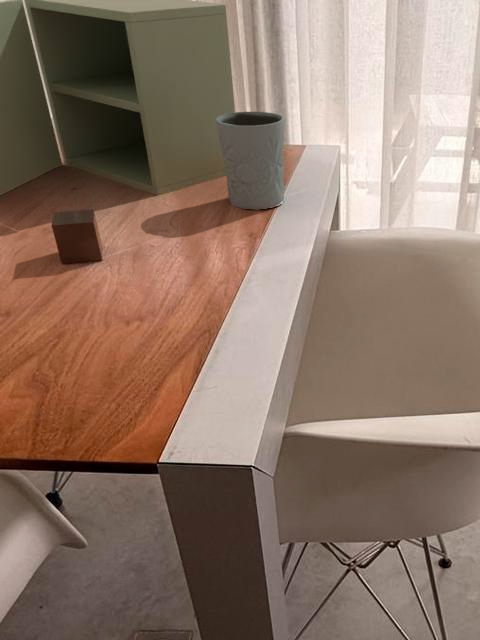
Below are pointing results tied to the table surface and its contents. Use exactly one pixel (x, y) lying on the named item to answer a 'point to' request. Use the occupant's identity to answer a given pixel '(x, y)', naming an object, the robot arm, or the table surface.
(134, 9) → the cupboard
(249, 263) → the table surface
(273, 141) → the grey green cup
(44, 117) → the cupboard door
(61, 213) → the walnut block
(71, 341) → the table surface
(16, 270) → the table surface
